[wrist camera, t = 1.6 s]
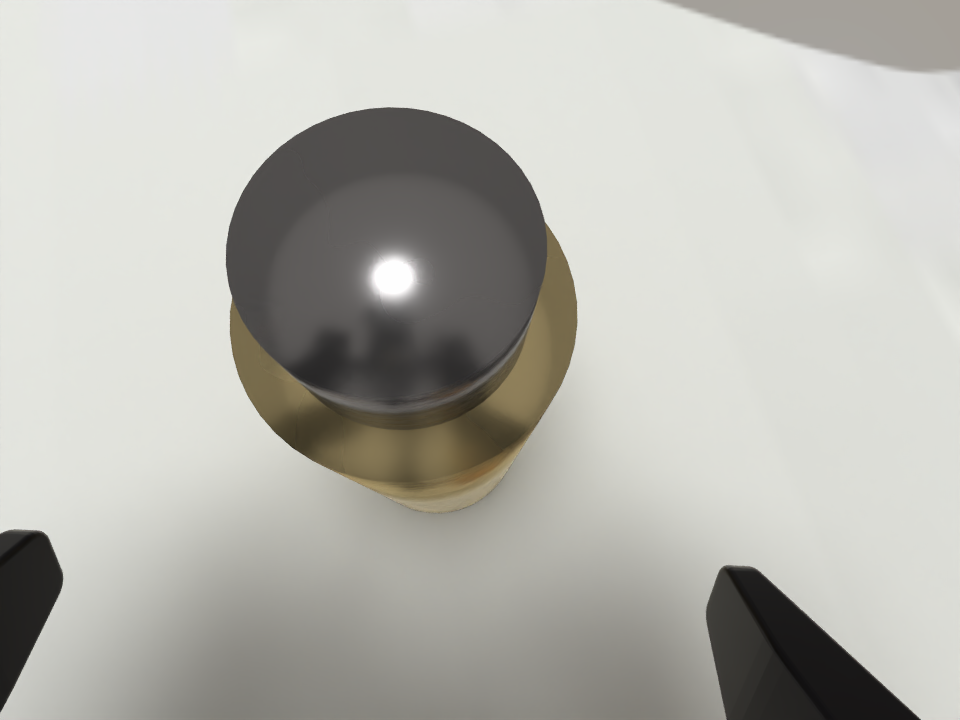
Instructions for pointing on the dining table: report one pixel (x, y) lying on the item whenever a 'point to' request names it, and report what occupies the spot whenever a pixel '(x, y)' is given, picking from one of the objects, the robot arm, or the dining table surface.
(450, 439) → the gold two-tone capped cylinder
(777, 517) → the dining table surface
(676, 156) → the dining table surface
